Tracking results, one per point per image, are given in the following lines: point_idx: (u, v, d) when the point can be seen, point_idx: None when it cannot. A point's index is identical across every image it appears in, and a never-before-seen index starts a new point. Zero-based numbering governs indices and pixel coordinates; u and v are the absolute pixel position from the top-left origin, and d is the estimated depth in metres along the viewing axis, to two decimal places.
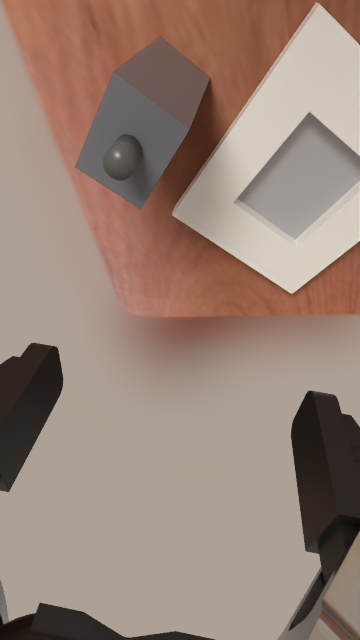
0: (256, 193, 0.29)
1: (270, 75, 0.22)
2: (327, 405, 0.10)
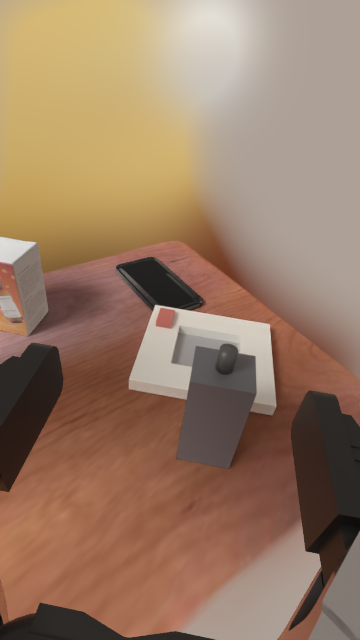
0: None
1: (164, 385, 0.37)
2: (327, 405, 0.10)
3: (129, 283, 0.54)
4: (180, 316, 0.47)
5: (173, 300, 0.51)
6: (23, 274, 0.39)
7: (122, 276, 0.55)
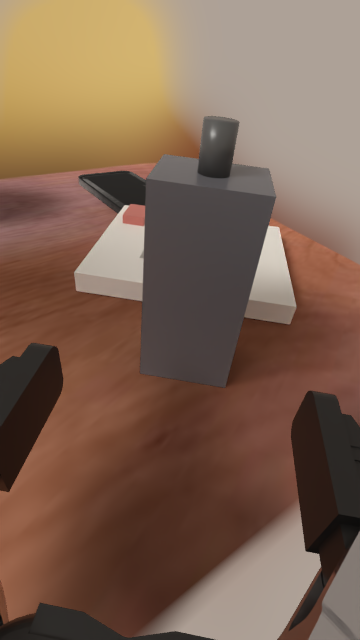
0: None
1: (127, 280, 0.25)
2: (327, 405, 0.10)
3: (94, 191, 0.41)
4: None
5: None
6: None
7: (86, 185, 0.43)
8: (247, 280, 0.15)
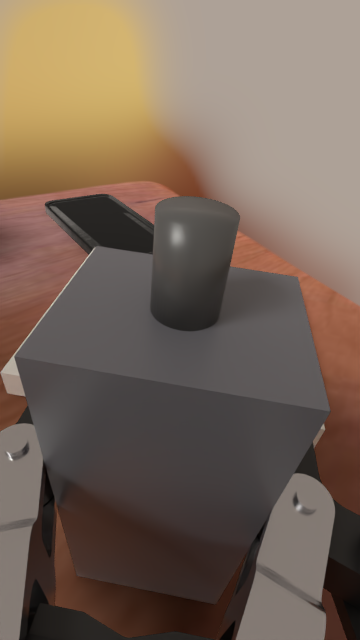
0: None
1: None
2: None
3: (62, 224, 0.33)
4: None
5: (131, 245, 0.31)
6: None
7: (53, 215, 0.35)
8: (255, 514, 0.08)
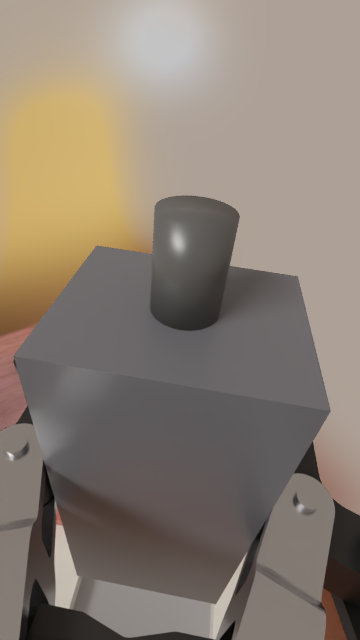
0: None
1: None
2: None
3: None
4: None
5: None
6: None
7: None
8: (255, 514, 0.08)
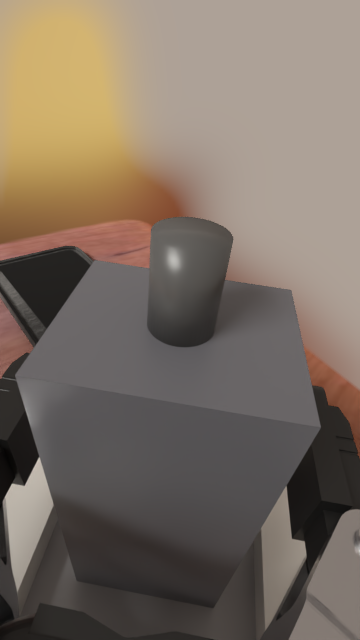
0: (219, 614, 0.12)
1: None
2: (314, 397, 0.10)
3: (6, 303, 0.24)
4: None
5: None
6: None
7: None
8: (250, 522, 0.08)
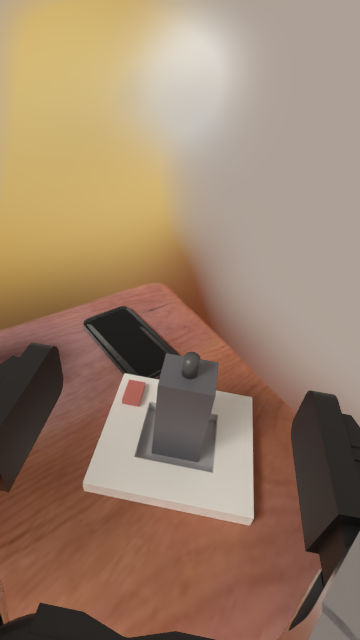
0: (200, 464, 0.36)
1: (124, 491, 0.32)
2: (327, 405, 0.10)
3: (99, 344, 0.48)
4: (152, 389, 0.41)
5: (149, 362, 0.46)
6: None
7: (91, 334, 0.50)
8: (205, 421, 0.32)
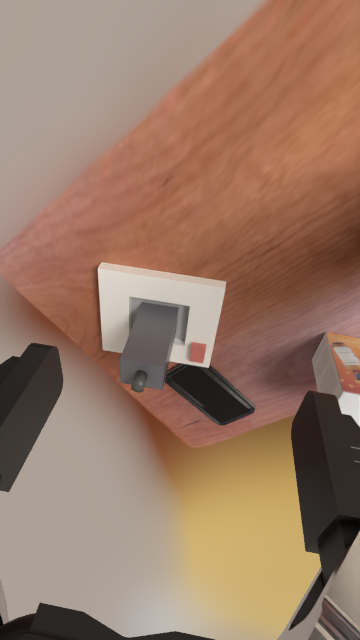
0: (140, 300, 0.47)
1: (193, 283, 0.42)
2: (327, 405, 0.10)
3: (236, 391, 0.55)
4: (183, 355, 0.50)
5: (190, 376, 0.54)
6: (333, 385, 0.40)
7: (245, 399, 0.56)
8: (130, 336, 0.41)
